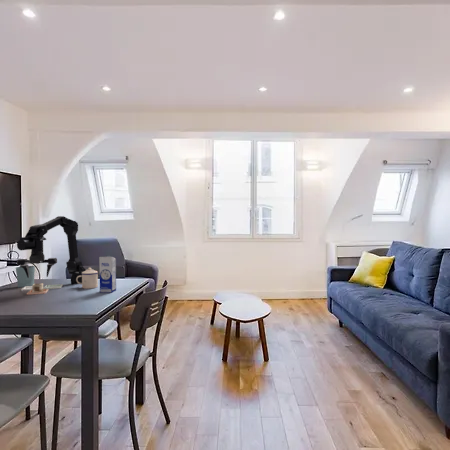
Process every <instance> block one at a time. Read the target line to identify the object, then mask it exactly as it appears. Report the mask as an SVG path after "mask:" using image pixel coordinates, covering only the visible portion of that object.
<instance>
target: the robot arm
mask: <svg viewBox="0 0 450 450" xmlns="http://www.w3.org/2000/svg"><path fill="white" fill-rule="evenodd" d="M78 223H79V222H77V221H76V220H73V219H70V218H67V217H66V216H64V215H63V216H61V215H60V216H59V215H58V216H56V217H55V218H52V219H51V220H49V221H46V222H43V223H41V224H35V225H31V226H30V227H29V229H28V231H27V233H26V234H25V236H23V237H21V236H20V237H19V239H18V241H17V243H16V246H17V249H18V250H19V251H28V250H29V251H30V250H31V251H30V256H29V258H22V259H21V258H19V259H18V260H17V261H16V266H19V267H22V268H23V269H24V270H25V272H26V275H27V277H28V278H29V266H30V265H34V264H37V265H38V264H47V265H46V278H47V277H49V275H50V271H51V268H52V267H53V266H54V265H56V264H57V263H58V258H57V257H48V258H46V259H45V257H46V256H45V254H44V241H47V238H46V237H45V235H47V233H48V231H50V230H52V229H54V228H56V227H57V226H60V227H61V228H62V229H63V232H64V234H65V235H66V238H67V247H68V256H69V259H68V260H67V261H66V269H67V271H68V273H69V275H71V276H70V284H71V285H80V284H79V283H77V281H76V278H77V277H78V276H82V272H84V271H86V270H87V269H86V268H85V267H84V266H83V263H82V260H81V259H80V258H79V253H78V252H79V251H78V243H77V233H78V231H79V224H78ZM77 280H78V282H80V283H82V277H78V279H77Z"/></svg>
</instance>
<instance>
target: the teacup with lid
mask: <svg viewBox="0 0 450 450" xmlns="http://www.w3.org/2000/svg"><path fill="white" fill-rule="evenodd" d="M85 270H86V271H84V272H82V276H78V277H82V283H80V282H78V280H77V279H78V277H77V278H76V281H77V283H79V284H78V285H81V287H82V289H85V290H86V289H87V290H91V289H96V288H97V287H98V285H99V282H98V280H99V279H98V278H99V276H98V273H99V272H98V271H97V270H94V268H93V269H92V267H88V268H87V269H85Z"/></svg>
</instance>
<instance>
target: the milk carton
mask: <svg viewBox="0 0 450 450" xmlns="http://www.w3.org/2000/svg"><path fill="white" fill-rule="evenodd" d="M98 261H99V293H102V294H103V293H104V294H105V293H108V294H109V293H111V294H112V293H114V292H116V291H117V258H115V257H114V256H112V255H106V256H99V259H98Z"/></svg>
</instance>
